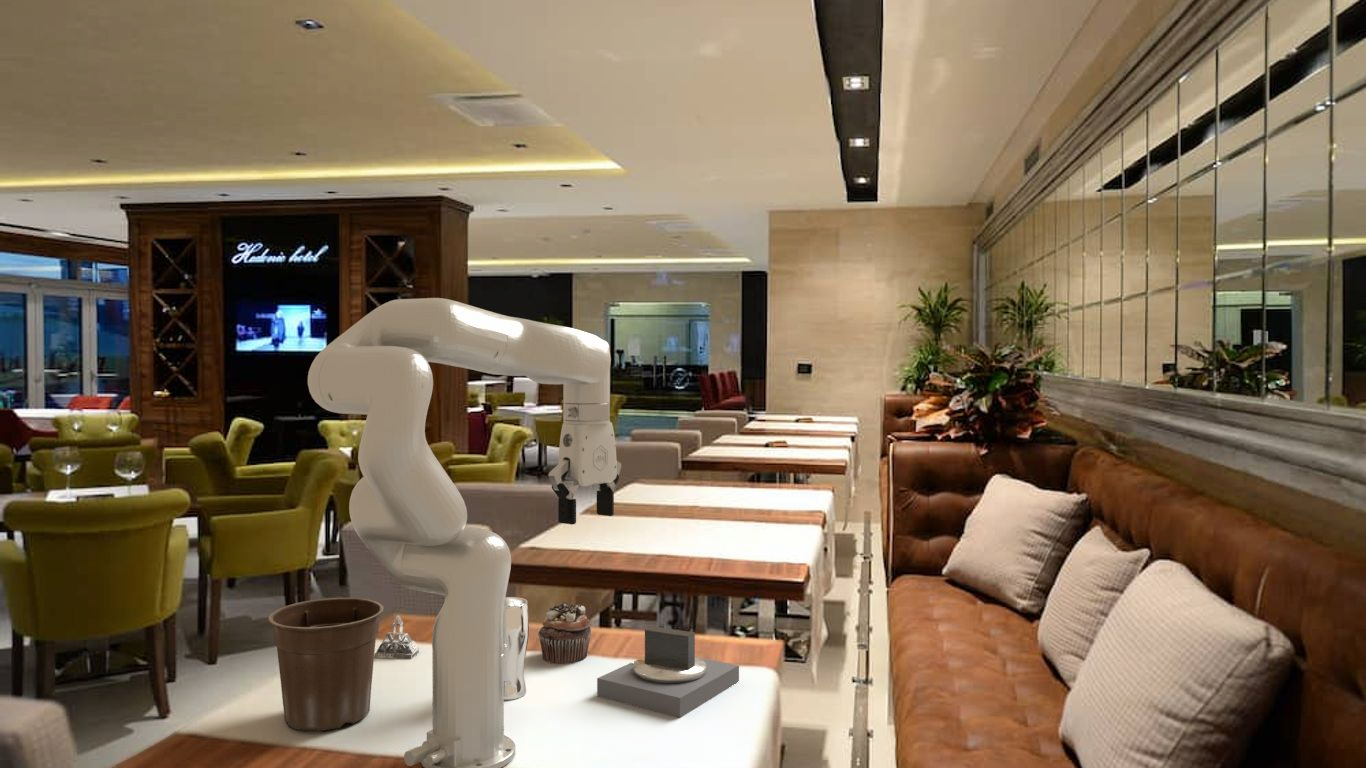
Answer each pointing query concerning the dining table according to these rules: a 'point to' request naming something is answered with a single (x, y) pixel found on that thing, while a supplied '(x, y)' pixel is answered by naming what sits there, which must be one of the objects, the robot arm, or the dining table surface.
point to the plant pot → (326, 660)
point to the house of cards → (397, 644)
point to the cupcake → (565, 634)
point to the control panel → (667, 688)
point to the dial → (669, 657)
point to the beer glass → (515, 646)
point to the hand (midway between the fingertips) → (586, 519)
